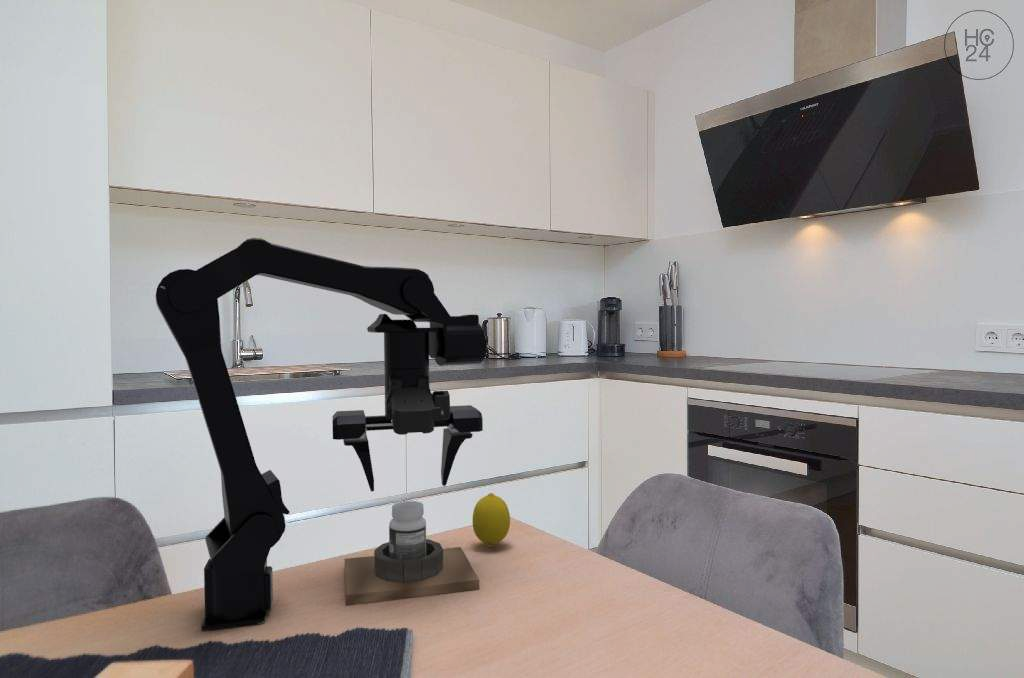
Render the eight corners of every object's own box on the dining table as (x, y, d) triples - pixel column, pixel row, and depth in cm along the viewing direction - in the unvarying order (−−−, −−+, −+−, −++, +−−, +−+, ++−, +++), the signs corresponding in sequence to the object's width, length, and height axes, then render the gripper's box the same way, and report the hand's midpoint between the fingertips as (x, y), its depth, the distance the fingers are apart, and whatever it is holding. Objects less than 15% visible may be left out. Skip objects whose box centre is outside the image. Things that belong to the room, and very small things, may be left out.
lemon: (509, 553, 91) (509, 498, 91) (471, 553, 91) (470, 498, 91) (510, 540, 97) (510, 488, 97) (474, 540, 97) (473, 488, 97)
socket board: (346, 605, 75) (345, 574, 75) (344, 567, 87) (344, 540, 86) (479, 589, 79) (478, 559, 79) (460, 555, 91) (460, 529, 91)
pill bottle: (392, 562, 85) (392, 499, 85) (428, 561, 85) (427, 499, 85) (386, 576, 80) (385, 510, 80) (424, 575, 81) (423, 510, 80)
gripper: (331, 375, 72) (333, 512, 72) (492, 370, 77) (493, 498, 77) (331, 368, 83) (333, 487, 83) (472, 364, 88) (474, 476, 88)
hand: (408, 487), depth 83 cm, fingers open, 9 cm apart
